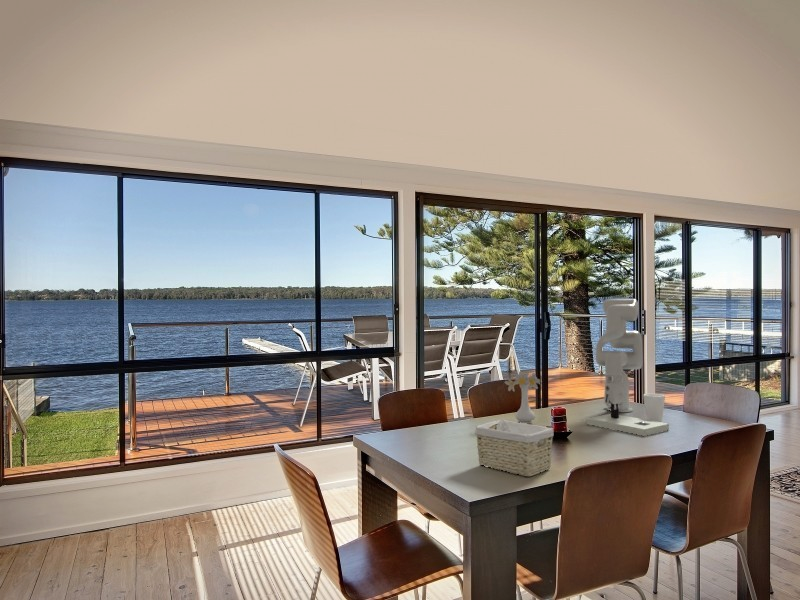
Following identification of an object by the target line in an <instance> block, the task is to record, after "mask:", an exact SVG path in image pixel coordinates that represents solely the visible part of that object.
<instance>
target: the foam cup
mask: <svg viewBox="0 0 800 600" xmlns="http://www.w3.org/2000/svg"><path fill="white" fill-rule="evenodd" d="M665 401H666V395H665V394H662V393H652V392H651V393H644V394H643V402H644V408H645V415H646V420H651V421H656V422H662V423H663V417H664V408H665V407H664V406H665Z"/></svg>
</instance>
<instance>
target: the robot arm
mask: <svg viewBox="0 0 800 600" xmlns="http://www.w3.org/2000/svg"><path fill="white" fill-rule="evenodd" d="M602 309H603V312H604V315H605V316H606V317H605V319H606V320H605V321H606V323H605V325H606V326H605V333H604V334H602V335H601V336H600V337H599V339H598V341H597V342H596V345H595V346H596V347H595V362H596V364H597V365H598V366H600V367H604V370H605V373H604V374H605V381H604V382H605V384H604V395H603V396H604V397H603V398H604V405H606V410H608V411H609V410H610V411H609V412H610V414H611V418H619V415H620V413H630V412H632V411H633V408H632V407H630V391H629V389H630V383H629V376H628V374H627V373H626V372H625V371H624V370H640V369H642V367H643V364H644V360H643V358H644V357H643V356H644V355H643V339H642V334H641V332H639V331H638V330H627V322H634V321H636V320H637V319H638V315H639V309H640V307H639V301H638V300H637V299H636V298H609V299H605V300H603V301H602ZM608 343H609V345H610V347H611V348H613V349H620V350H603V347H604V346H605V345H606V344H608ZM621 349H630V350H632V351H626V350H621Z"/></svg>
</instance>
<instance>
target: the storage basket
mask: <svg viewBox="0 0 800 600" xmlns="http://www.w3.org/2000/svg"><path fill="white" fill-rule="evenodd" d="M474 433H475V435H476V444H477V445H476V448H477V455H478V462H479V463H478V464H481V465H485V466H488V467H492V468H491V469H493V468H495V469H494V470H496V469H500V470H499V471H501V470H503V471H502V472H505V471H507V472H506V473H508V472H510V474H514V475H517V474H519V476H523V477H532V476H535V475H538V474H541V473H544V472H546V471H547V470H550V469H551V463H552V451H553V450H552V448H553V447H552V446H553V445H552V444H553V437H554V436H555V435H554V429H553V428H552V427H546V426H541V425H535V424H523V423H519V422H517V421H511V420H505V419H498V420H494V421H493V420H492V421H490V422H486V423H483V424H479V425H476V426H475V430H474ZM488 467H487V468H488ZM545 470H546V471H545ZM540 472H541V473H540Z"/></svg>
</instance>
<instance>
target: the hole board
mask: <svg viewBox="0 0 800 600" xmlns="http://www.w3.org/2000/svg"><path fill="white" fill-rule="evenodd" d="M640 422H645V423H646V424H647V425H645V426H644V425H638V424H639V423H640ZM586 423H587V425H588V424H589V426H592V425H595V426H594V427H597V426H599V427H598V428H602V427H604V428H603V429H607V428H609V429H608V430H612V429H614V430H613V431H617V430H619V431H618V432H621V431H623V432H622V433H626V432H628V433H627V434H631V433H633V434H632V435H636V434H637V436H641V435H642V437H647V435H648V436H651V434H652V435H656V434H659V432H660V433H663V432H662V431H665V432H668V431H667V430H669V431H670V424H669V423H666V422H663V421H662V422H656V421H651V420H647V419H645V418H639V417H634V416H628V415H621V414H619V418H611V413H608V414H603V415H597V416H592V417H587V422H586ZM655 433H656V434H655Z"/></svg>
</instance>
